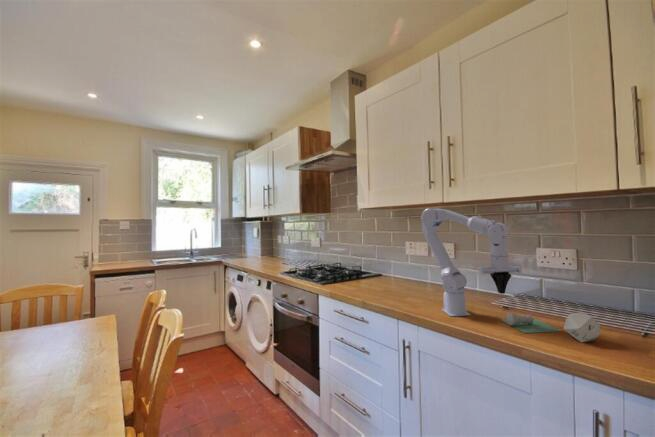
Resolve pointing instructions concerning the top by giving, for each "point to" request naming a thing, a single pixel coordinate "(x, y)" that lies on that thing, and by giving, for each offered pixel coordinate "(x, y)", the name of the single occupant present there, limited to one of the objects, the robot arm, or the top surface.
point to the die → (582, 327)
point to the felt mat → (534, 327)
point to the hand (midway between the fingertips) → (501, 292)
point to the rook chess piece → (518, 319)
